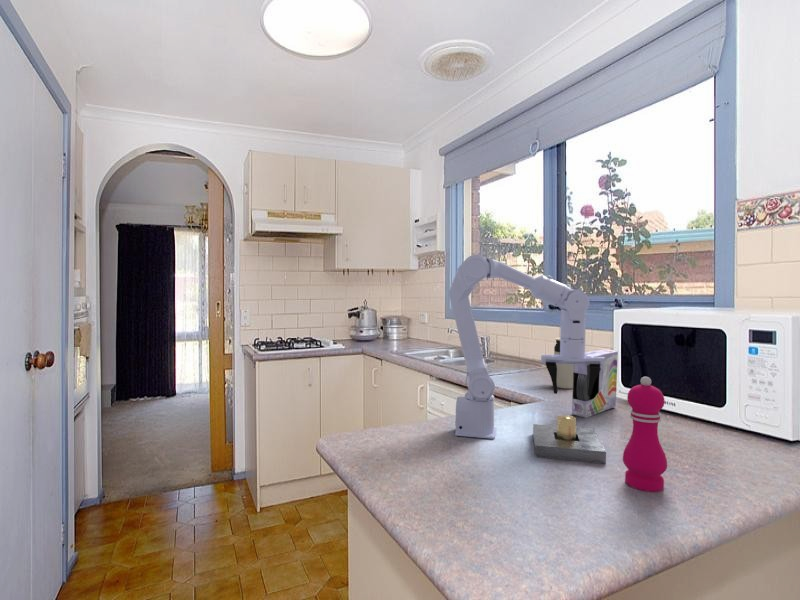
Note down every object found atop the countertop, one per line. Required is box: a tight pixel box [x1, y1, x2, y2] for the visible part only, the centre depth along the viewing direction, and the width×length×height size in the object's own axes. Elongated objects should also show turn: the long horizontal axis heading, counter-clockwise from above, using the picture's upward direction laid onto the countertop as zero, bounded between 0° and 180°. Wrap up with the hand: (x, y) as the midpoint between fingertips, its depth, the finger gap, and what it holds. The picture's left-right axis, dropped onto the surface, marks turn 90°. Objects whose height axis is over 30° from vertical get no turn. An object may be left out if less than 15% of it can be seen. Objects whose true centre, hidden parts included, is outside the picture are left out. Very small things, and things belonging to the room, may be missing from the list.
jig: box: [532, 423, 607, 465], centre depth 103 cm, size 14×16×2 cm
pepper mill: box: [622, 376, 668, 492], centre depth 84 cm, size 7×7×20 cm
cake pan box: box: [571, 348, 619, 419], centre depth 134 cm, size 19×5×18 cm, turn 129°
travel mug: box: [553, 337, 573, 390], centre depth 168 cm, size 8×8×18 cm
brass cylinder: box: [556, 414, 577, 441], centre depth 103 cm, size 4×4×7 cm
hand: (571, 393), depth 111 cm, fingers open, 7 cm apart
